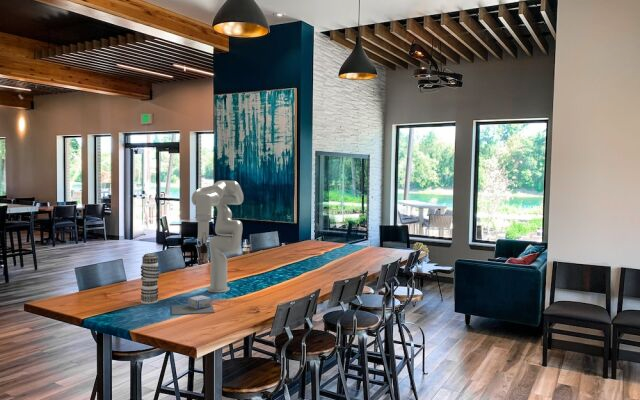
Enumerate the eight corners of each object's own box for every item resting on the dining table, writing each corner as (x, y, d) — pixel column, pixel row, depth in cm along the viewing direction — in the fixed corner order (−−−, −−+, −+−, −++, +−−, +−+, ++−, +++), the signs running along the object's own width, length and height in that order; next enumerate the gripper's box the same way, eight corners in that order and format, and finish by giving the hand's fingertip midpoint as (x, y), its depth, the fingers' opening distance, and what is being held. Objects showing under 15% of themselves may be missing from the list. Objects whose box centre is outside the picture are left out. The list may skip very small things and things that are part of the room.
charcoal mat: (171, 307, 240) (171, 306, 240) (212, 305, 246) (212, 304, 246) (171, 315, 226) (171, 314, 226) (214, 312, 232) (214, 311, 232)
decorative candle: (136, 303, 244) (137, 255, 243) (145, 298, 254) (146, 252, 252) (153, 304, 243) (154, 256, 242) (161, 299, 252) (162, 253, 251)
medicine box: (200, 294, 247) (211, 297, 241) (200, 303, 247) (211, 306, 241) (187, 297, 240) (198, 300, 235) (187, 306, 241) (198, 309, 235)
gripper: (195, 215, 249) (195, 250, 251) (196, 219, 235) (196, 256, 237) (210, 215, 251) (210, 249, 253) (212, 219, 237) (212, 255, 239)
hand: (203, 252), depth 245 cm, fingers closed
